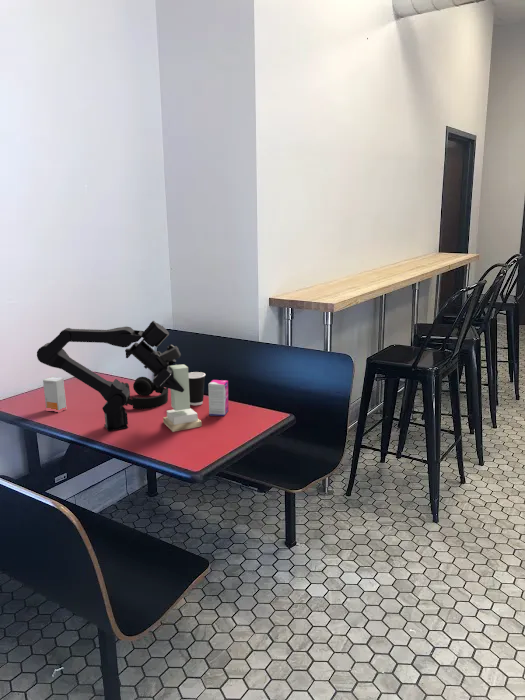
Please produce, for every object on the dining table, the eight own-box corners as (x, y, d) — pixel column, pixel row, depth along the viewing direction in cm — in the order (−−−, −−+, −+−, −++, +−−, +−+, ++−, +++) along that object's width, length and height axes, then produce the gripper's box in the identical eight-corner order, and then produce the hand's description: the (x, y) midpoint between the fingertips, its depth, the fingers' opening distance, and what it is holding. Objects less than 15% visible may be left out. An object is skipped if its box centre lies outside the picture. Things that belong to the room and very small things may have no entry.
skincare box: (45, 411, 212) (42, 379, 210) (54, 408, 216) (50, 376, 213) (59, 413, 210) (55, 381, 207) (67, 409, 214) (63, 378, 211)
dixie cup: (181, 403, 218) (179, 374, 215) (199, 398, 222) (198, 370, 220) (192, 408, 211) (190, 378, 209) (210, 403, 216) (209, 374, 214)
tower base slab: (172, 433, 189) (172, 426, 188) (163, 424, 197) (163, 417, 197) (201, 428, 193) (201, 421, 192) (191, 419, 202) (191, 412, 201)
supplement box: (225, 416, 202) (223, 384, 199) (208, 415, 203) (207, 384, 200) (229, 411, 207) (228, 379, 205) (213, 410, 208) (211, 379, 206)
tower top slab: (174, 424, 189) (174, 417, 189) (167, 417, 196) (166, 410, 196) (197, 420, 193) (197, 413, 192) (189, 413, 200) (189, 406, 199)
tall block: (175, 410, 190) (173, 369, 187) (171, 406, 195) (169, 365, 192) (190, 408, 192) (188, 367, 189) (186, 404, 197) (184, 364, 194)
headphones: (144, 371, 232) (178, 385, 220) (144, 390, 234) (178, 404, 222) (106, 382, 219) (140, 397, 207) (107, 401, 221) (140, 418, 209)
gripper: (161, 345, 179) (199, 378, 182) (168, 333, 197) (202, 364, 200) (137, 370, 181) (175, 403, 184) (146, 356, 199) (180, 386, 202)
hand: (184, 388), depth 192 cm, fingers closed on tall block, 6 cm apart
